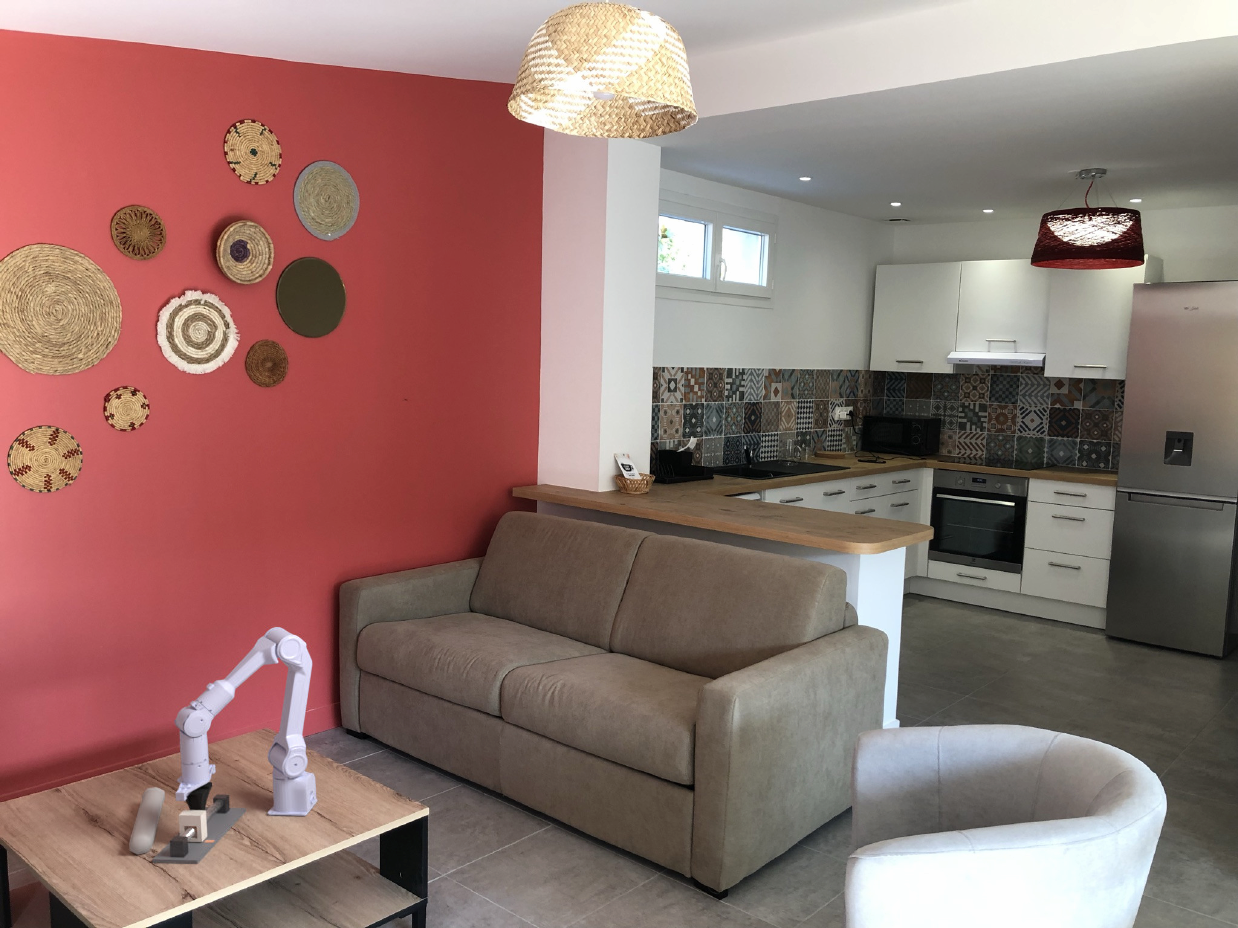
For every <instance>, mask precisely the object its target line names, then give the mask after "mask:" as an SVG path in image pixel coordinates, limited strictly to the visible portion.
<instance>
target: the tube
mask: <svg viewBox="0 0 1238 928" xmlns="http://www.w3.org/2000/svg"><path fill="white" fill-rule="evenodd" d="M165 800H166V792H165V790H163V789H162V788H159V787H157V786H155V787H147V788H146V789H145V790H144V791H143V793H142V795H141V801H140V803H139V808H138V810H137V815H136V818H135V821H134V825H133V828H132V831H131V835H130V837H129V841H128V842H129V851H130V852H132V853H134V854H136V855H142V854H147V853H148V852H150V850H151V849H152V847H153V846H154V841H155V837H156V833H157V829H158V825H159V821H160V817H161V812H162V808H163V804H164V801H165Z"/></svg>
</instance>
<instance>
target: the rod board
mask: <svg viewBox="0 0 1238 928" xmlns="http://www.w3.org/2000/svg"><path fill="white" fill-rule="evenodd" d="M205 810H206V822H207V837H206V838H205V839H204V840H203V842H188V841H189V840H190V839H191V838H192V837H193V836H194V835H195V834H196V833H197V826H190V827H189V828H188V829H187V830H186V831H185V832H184V833H183V834H182V835H181V836H180V832H178V834H176V835H174V836H173V837H172V838H170V840H169V843H167V845H165V846H164V847H163V848H162V850H160V851H159V852H158V853H157V854H156V855H155V856H154V857H153V858H152V864H185V865H186V864H190V865H198V864H199V863H200V862H201V861H202V859H203V858H205V856H206V855H207V854H208V853H209V852H210V851H211V850H212V849H213V848H214V847H215V845H216V844H218V842H219V841H220V840H221V839H222V838H223V837H224V836H225V835H226V834H227V832H228V831H229V830H230V829H231V828H232V827H233V826H234V825H235V824H236V823H237V822H238V821H239V819H240V818H241V817H243V816H244V814H245V813H246V812H247V807H231V806H230V794H220V793H219V794H218V793H217V794H216V795H214V796H213V797H212V804H211V806H206V807H205Z"/></svg>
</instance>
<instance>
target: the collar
mask: <svg viewBox="0 0 1238 928" xmlns="http://www.w3.org/2000/svg"><path fill="white" fill-rule="evenodd" d="M178 825H179V833H180V836H181V835H182V834H183V833H184V832H185V831H186V830H187V829H188V828H189V827H190V826H197V833H196V834H195V835H194V836H193V837H192V838H191V839H190V840H189V841H188V842H203V840H204V839H205V838H206V837H207V822H206V810H190V809H183V810H182V811H181V812H180V813H179V815H178Z"/></svg>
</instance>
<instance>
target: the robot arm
mask: <svg viewBox="0 0 1238 928" xmlns="http://www.w3.org/2000/svg"><path fill="white" fill-rule="evenodd" d="M278 659H279V660H280V661H281V662H282V663H283V664H284V665H285V666H286V667H287V675H286V676H287V677H286V681H285V682H286V683H285V689H284V696H283V703H282V709H281V710H282V711H281V718H280V724H279V730H278V732H277V733H276V734H275V736H274V737H273V742H272V744H271V746H270V748H269V749H268V752H267V761H268V763H269V764H270V765H271V766H272V769H273V770H272V774H271V775H272V790H273V791H272V794H273V795H272V796H273V806H271V808H270V809H269V810H268V812H267V815H268V816H297V817H299V816H301V817H302V816H303V817H305V816H307V815H308V814H309V812H310V811H311V810H312V808H313V807H314V806H315V805H316V803H317V802H318V801H319V800H318V799H317V785H316V776H315V774H314V772H308V771H306V768H307V767H308V761H309V760H308V756H307V750H306V749H307V745H306V742H305V739H304V736H303V732H304V723H305V717H306V712H307V711H306V710H307V705H308V704H307V703H308V699H309V698H308V695H309V689H310V683H311V682H310V681H311V678H312V677H311V675H312V670H313V669H312V668H313V660H312V657H311V655H310V653H309V650H308V649H307V643H306V642H305V641H304V640H303V639H302V638H301V637H299V636H298V635H295V634H293V633H291V632H289V631H287V630H286V629H284V627H283V628H282V627H279V626H278V627H277V626H274V627H272V628H270V629H268V630H267V631H265V633H264V635H263V636H261V637H260V638H258V639H257V641H256V642H255V645H254V646H253V647H252V649H250V651H249V652H248V653H247V654H246V655H245V656H244V657H243V658H242V660H240V662H239V663H238V664H237V665H236V666H235V667H234V668H233V670H231V671H230V673H228V675H227V676H225V677H224V679H217V680H215V681H213V682H209V683H208V684H207V685H206V686H205V687H206V689H205V690H204V691H203V692H202V693H201V694H200V695H199V696H198V697H197V698H196V699H195V700H192V701H191V702H190V703H189V705H187V706H184V707H183V708H181V709H180V710H179V711H178V712H177V716H176V717H175V719H174V726H175V727H177V729H179V750H180V751H179V752H180V767H181V770H180V771H181V775H180V776H179V777H178V778H177V779H176V780H177V781H176V782H177V783H179V786H178V789H177V791H176V792H174V793H175V801H176V802H177V801H178V802H186V805H187V806H188V810H205V807H207V801H208V797H209V794H210V792H211V790H212V787H213V782H211V779H212V775H214V774H216V764H210V759H209V758H210V757H209V748H208V747H209V744H208V734H207V733H208V731H209V729H210V728H211V724H212V721H213V720H214V718H215V717H216V716H217V715H218V714H219V713H220V712H221V711H222V710H223V709H225V708H226V706H227V705H229V703H230V702H232V700H233V699H234V698H235V694H236V689H237V688H238V687H239V686H241V685H242V684H243V683H244V682H245V681H246V680H248V679H249V678H250V677H251V676H252V675H253V674H254V673H256V672H257V671H258V670H260V668H261V667H262V666H264V665H273V664H274V665H275V664H276V665H277V664H278V663H279V660H278Z"/></svg>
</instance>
